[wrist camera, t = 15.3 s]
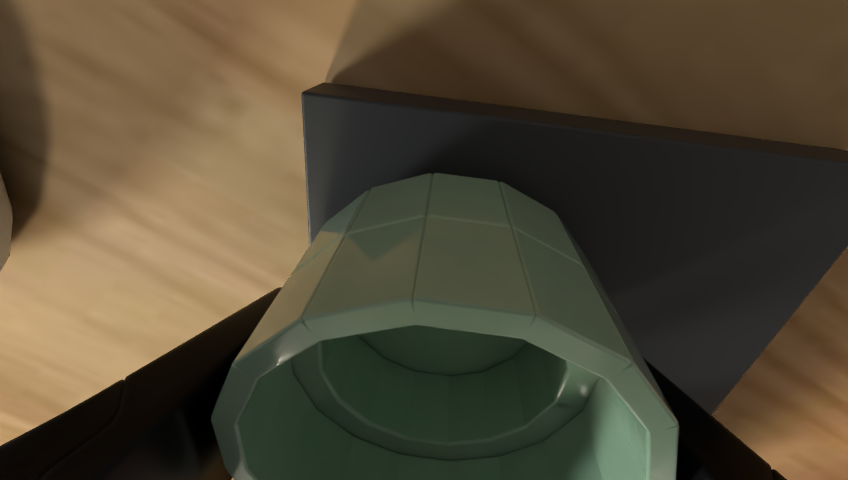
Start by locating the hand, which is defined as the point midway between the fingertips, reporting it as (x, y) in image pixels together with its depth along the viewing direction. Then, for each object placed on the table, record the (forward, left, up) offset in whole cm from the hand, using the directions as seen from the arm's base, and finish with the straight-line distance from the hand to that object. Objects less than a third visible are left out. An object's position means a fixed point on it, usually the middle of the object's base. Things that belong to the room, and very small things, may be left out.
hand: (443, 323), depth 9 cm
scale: (-2, -2, -2) cm, 4 cm away
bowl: (0, 0, -1) cm, 1 cm away
